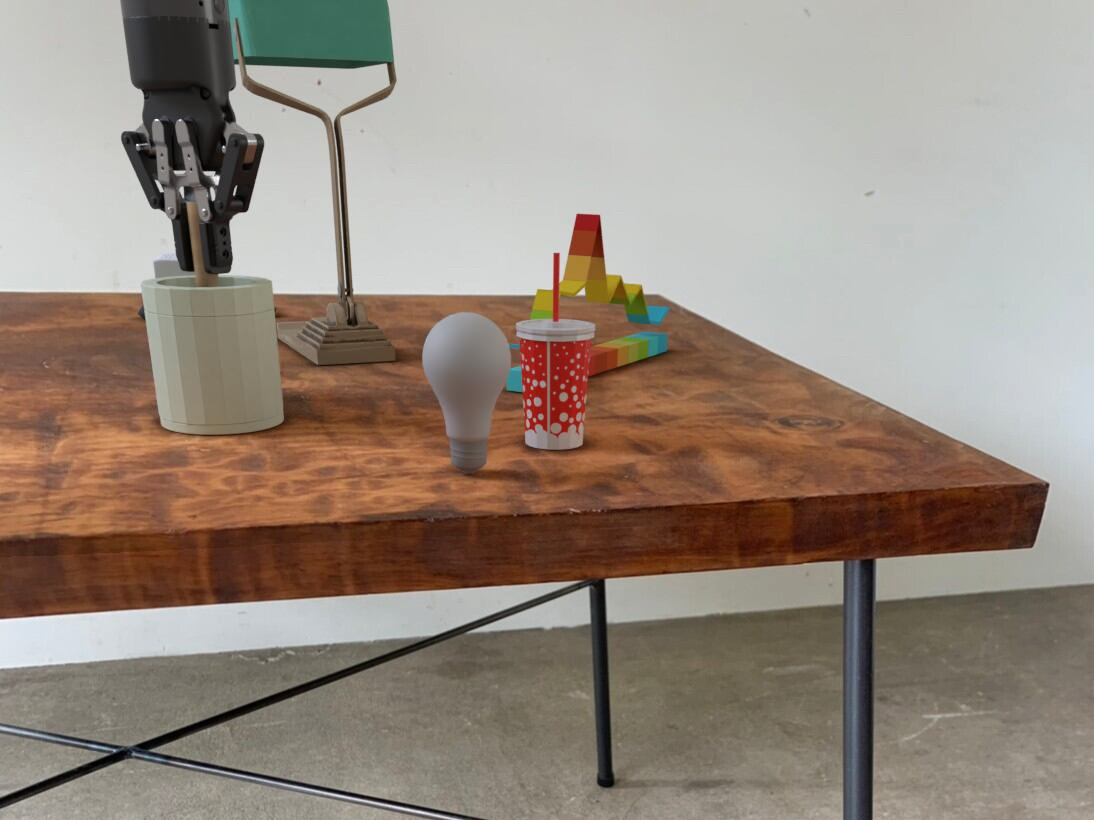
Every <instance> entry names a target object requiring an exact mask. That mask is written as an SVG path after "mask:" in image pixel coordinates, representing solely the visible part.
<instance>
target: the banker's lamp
mask: <svg viewBox="0 0 1094 820" xmlns="http://www.w3.org/2000/svg"><path fill="white" fill-rule="evenodd" d="M228 5H229V15H230V24H231V35H232V45H233V55H234V65H235V66H238V67H239V72H240V77H241V78H240V79H241V84H242V86H243V87H244V89H246V91H247V92H249V93H251V94H253V95H255V96H258V97H259V98H263V99H266V100H269V101H271V102H274V103H277V104H281V105H283V106H286V107H289V108H292V109H295V110H298V111H300V112H302V113H305V114H309V115H312V116H315V117H317V118H318V119H320V120H321V121H322V122H323V125H324V127H325V131H326V137H327V143H328V145H327V146H328V152H329V153H328V154H329V167H330V168H329V169H330V179H331V180H330V181H331V196H332V198H331V199H332V211H333V225H334V226H333V227H334V240H335V241H334V242H335V254H336V255H335V256H336V270H337V295H338V298H339V300H338V301H339V302H329V303H328V304H327V307H326V316H325V317H321V316H320V317H311V320H306V321H305V320H304V321H283V322H276V332H277V340H280V341H281V342H283V343H284V344H286V345H287V346H289V348H291V349H293V350H295V351H296V352H298V353H299V354H301V355H302V356H304V357H305V358H307V359H308V360H309V361H311V362H312V363H314V364H315V365H317V366H324V365H325V366H326V365H327V366H328V365H329V366H330V365H343V364H344V365H345V364H358V363H378V362H393V361H396V347H395V345H394V344H392V340H391V339H388V338H387V334H386V333H384V330H383V328H381V327H379V324H377V323H375V322H373V321H371V320H369V317H368V311H367V308H366V305H365V303H364V301H363V302H362V301H354V287H353V285H354V284H353V271H352V255H351V237H350V223H349V221H350V220H349V205H348V189H347V174H346V173H347V172H346V159H345V146H344V138H343V132H342V125H341V119H342V117H343V116H346V115H349V114H352V113H353V112H356V111H358V110H361V109H363V108H366V107H368V106H369V107H370V106H371V105H374V104H376V103H378V102H381V101H383V100H386V99H387V98H388V97H390V95H391V94H392V93H393V91H394V90H395V86H396V84H397V82H398V80H397V79H398V78H397V73H396V67H395V56H394V45H393V37H392V35H393V34H392V25H391V24H392V23H391V15H390V14H391V13H390V6H389V1H388V0H228ZM381 65H386V68H387V74H388V81H389V85H388V86H386V87H384V88H383V89H381V90H379V91H377V92H375V93H372V94H371V95H369V96H367V97H365V98H363V99H360V100H359V101H357V102H355V103H353V104H351V105H349V106H346V107H345V108H343V109H342V110H341V111H339V112H338V114H337V115H336V116H335V118H334V120H333V121H332V119H331V117H330V115H329V114H328V113H327V112H326V111H324V110H323V109H321V108H320V107H317V106H315V105H312V104H310V103H307V102H305V101H302V100H300V99H299V98H296V97H293V96H291V95H287V94H286V93H283V92H281V91H279V90H277V89H274V88H272V87H270V86H267V85H264V84H262V83H261V82H257V81H256V80H254V79H253V78H251V77H250V76H249V75H248V72H247V67H246V66H259V67H260V66H263V67H286V68H287V67H289V68H290V67H291V68H311V69H312V68H314V69H315V68H316V69H339V70H342V69H343V70H349V69H350V70H351V69H352V70H354V69H361V68H367V67H374V66H381Z"/></svg>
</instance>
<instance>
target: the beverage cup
mask: <svg viewBox="0 0 1094 820" xmlns="http://www.w3.org/2000/svg"><path fill="white" fill-rule="evenodd" d="M552 256H553V259H552V260H553V263H552V264H553V265H552V266H553V267H552V273H553V274H552V289H553V319H534V320H530V319H526V320H521V321H517V322H516V323H515V330H516V335H515V336H516V337H518V338H519V345H520V349H519V353H520V354H519V355H520V366H521V373H522V390H523V392H522V405H523V407H522V408H523V421H524V422H523V423H524V439H525V441H524V442H525V445H527V446H528V447H532V448H535V449H540V450H553V451H555V450H556V451H557V450H558V451H559V450H571V449H576V448H579V447H581V446H583V442H584V430H585V429H584V428H585V417H586V406H587V405H586V404H587V395H588V394H587V393H588V383H589V376H588V371H589V359H590V347H591V346H592V345H591V344H592V339H594V338H595V331H596V323H593V322H591V321H586V320H579V319H568V318H560V302H559V283H560V272H561V271H560V270H561V269H560V267H561V266H560V264H561V263H560V262H561V257H560V256H561V253H560V252H553V255H552Z"/></svg>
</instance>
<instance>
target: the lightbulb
mask: <svg viewBox="0 0 1094 820" xmlns="http://www.w3.org/2000/svg"><path fill="white" fill-rule="evenodd" d="M511 353H512V352H511V348H509V342H508V339H507V337H506V336H505V334H504V332H503V331H502V329H500V327H499V326H498V325H497V324H496V323H495V322H493V321H492V320H491V319H490V318H488V317H486V316H484V315H482V314H479V313H475V312H470V311H462V312H456V313H453V314H449V315H448V316H446V317H444V318H442V319H440V320H439V321H438V322H437V323H435V325H434V326H433V327H432V328H431V330H429V333H428V334H427V336H426V338H425V341H424V344H423V348H422V356H421V358H422V361H421V363H422V369H423V372H424V374H425V377H426V379H427V382H428V384H429V386H430V387H431V390H432V391H433V393H434V395H435V396H436V398H437V400H438V402H439V406H440V408H441V410H442V415H443V418H444V423H445V433H446V436H447V437H448V439H449V449H450V461H451V462H450V463H451V464H452V466H453V467H455V468H456V469H458V470H460V471H461V473H462V474H463V475H464V474H465V475H474V474H476V473H477V472H478V470H479V469H482V468H484V467H485V466H486V465H487V458H488V439H489V437H490V436H491V432H492V431H491V429H492V420H493V413H494V410H495V407H496V403H497V401H498V398H499V396H500V395H501V392H502V391H503V390H504V387H505V385H506V384H507V382H506V380H507V378H508V376H509V372H510V369H511V368H512V354H511Z"/></svg>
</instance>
